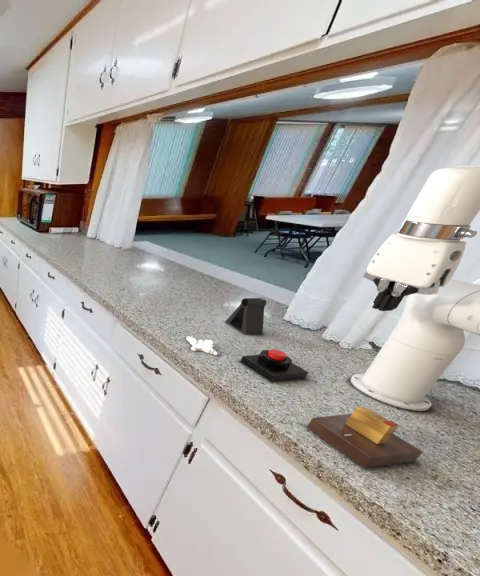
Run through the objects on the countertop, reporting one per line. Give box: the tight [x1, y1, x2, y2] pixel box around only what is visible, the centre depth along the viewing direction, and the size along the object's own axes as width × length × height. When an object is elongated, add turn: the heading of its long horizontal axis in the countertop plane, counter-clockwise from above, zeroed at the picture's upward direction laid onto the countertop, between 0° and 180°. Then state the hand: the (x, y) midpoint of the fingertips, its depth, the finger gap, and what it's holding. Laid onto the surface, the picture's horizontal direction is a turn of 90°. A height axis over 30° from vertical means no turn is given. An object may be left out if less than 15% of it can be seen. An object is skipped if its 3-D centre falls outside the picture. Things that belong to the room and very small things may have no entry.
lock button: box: [268, 348, 288, 361], centre depth 86 cm, size 4×4×2 cm
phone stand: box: [225, 297, 267, 335], centre depth 106 cm, size 9×6×12 cm, turn 178°
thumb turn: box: [346, 406, 400, 444], centre depth 62 cm, size 5×2×5 cm, turn 6°
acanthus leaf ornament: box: [186, 336, 219, 356], centre depth 97 cm, size 8×7×2 cm
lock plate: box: [306, 413, 424, 469], centre depth 64 cm, size 12×10×3 cm
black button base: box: [240, 349, 309, 382], centre depth 86 cm, size 11×9×4 cm
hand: (382, 309), depth 68 cm, fingers closed
